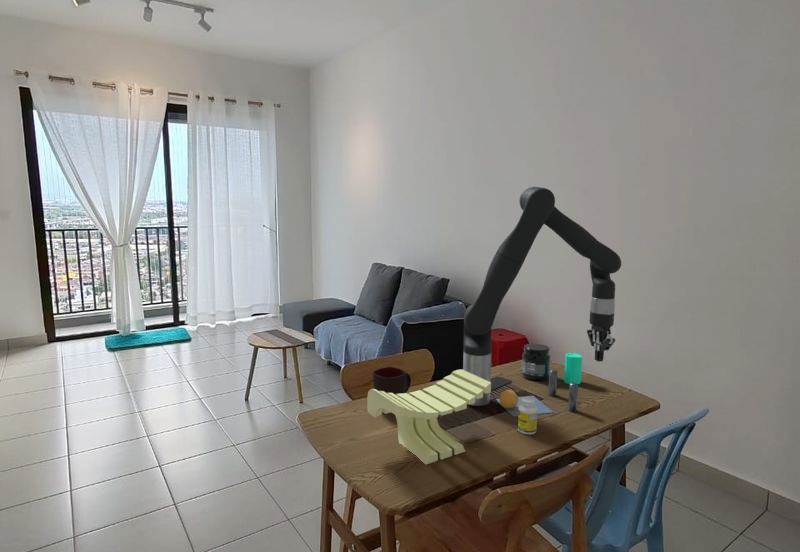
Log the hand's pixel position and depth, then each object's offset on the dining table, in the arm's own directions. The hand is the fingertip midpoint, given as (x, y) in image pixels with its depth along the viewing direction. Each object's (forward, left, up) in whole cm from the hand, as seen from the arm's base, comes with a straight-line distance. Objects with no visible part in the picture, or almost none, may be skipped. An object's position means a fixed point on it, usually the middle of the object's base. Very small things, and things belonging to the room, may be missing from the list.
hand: (598, 360), depth 166 cm
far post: (-13, +6, -14) cm, 20 cm away
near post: (-13, -7, -14) cm, 20 cm away
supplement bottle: (-34, -17, -14) cm, 41 cm away
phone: (-29, +21, -14) cm, 39 cm away
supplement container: (-10, +25, -14) cm, 30 cm away
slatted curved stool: (-65, -20, -14) cm, 69 cm away
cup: (-69, +9, -14) cm, 71 cm away
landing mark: (-27, 0, -14) cm, 30 cm away
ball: (-33, -1, -11) cm, 34 cm away
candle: (+1, +17, -14) cm, 22 cm away
